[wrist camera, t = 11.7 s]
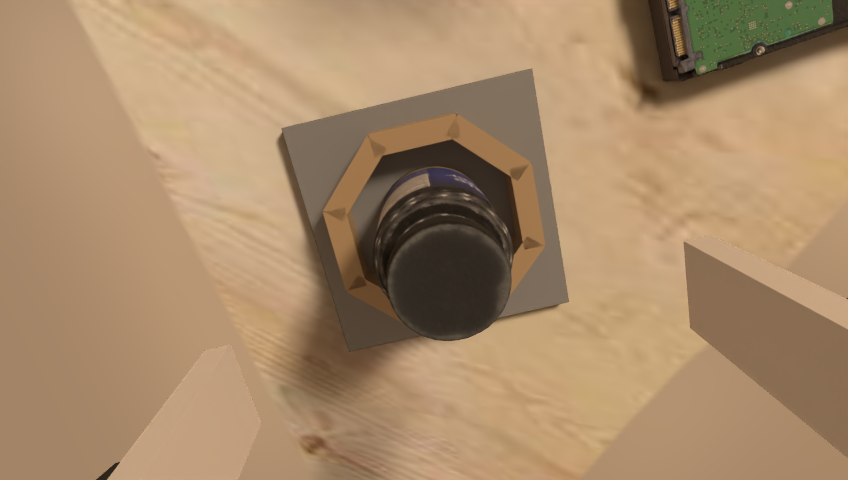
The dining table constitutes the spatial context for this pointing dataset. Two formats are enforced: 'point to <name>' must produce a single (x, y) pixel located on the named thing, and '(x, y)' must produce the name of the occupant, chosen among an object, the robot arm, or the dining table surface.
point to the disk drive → (735, 30)
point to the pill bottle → (442, 254)
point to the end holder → (418, 147)
